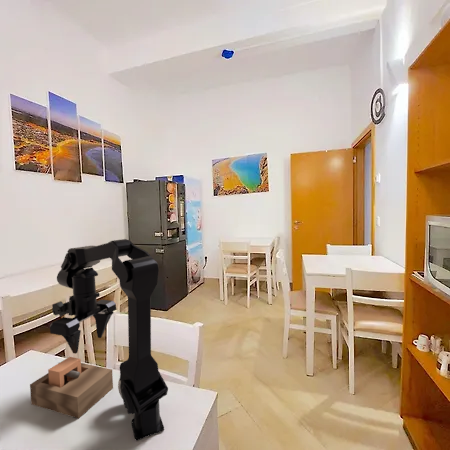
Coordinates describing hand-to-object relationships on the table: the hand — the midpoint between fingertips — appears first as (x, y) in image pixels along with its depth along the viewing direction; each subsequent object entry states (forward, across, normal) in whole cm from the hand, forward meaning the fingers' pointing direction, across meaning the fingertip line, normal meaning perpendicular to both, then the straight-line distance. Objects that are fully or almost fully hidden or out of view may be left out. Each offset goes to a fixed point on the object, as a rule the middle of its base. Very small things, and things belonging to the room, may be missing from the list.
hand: (88, 345), depth 81 cm
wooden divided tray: (+12, +5, -1) cm, 13 cm away
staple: (+10, +5, -4) cm, 12 cm away
